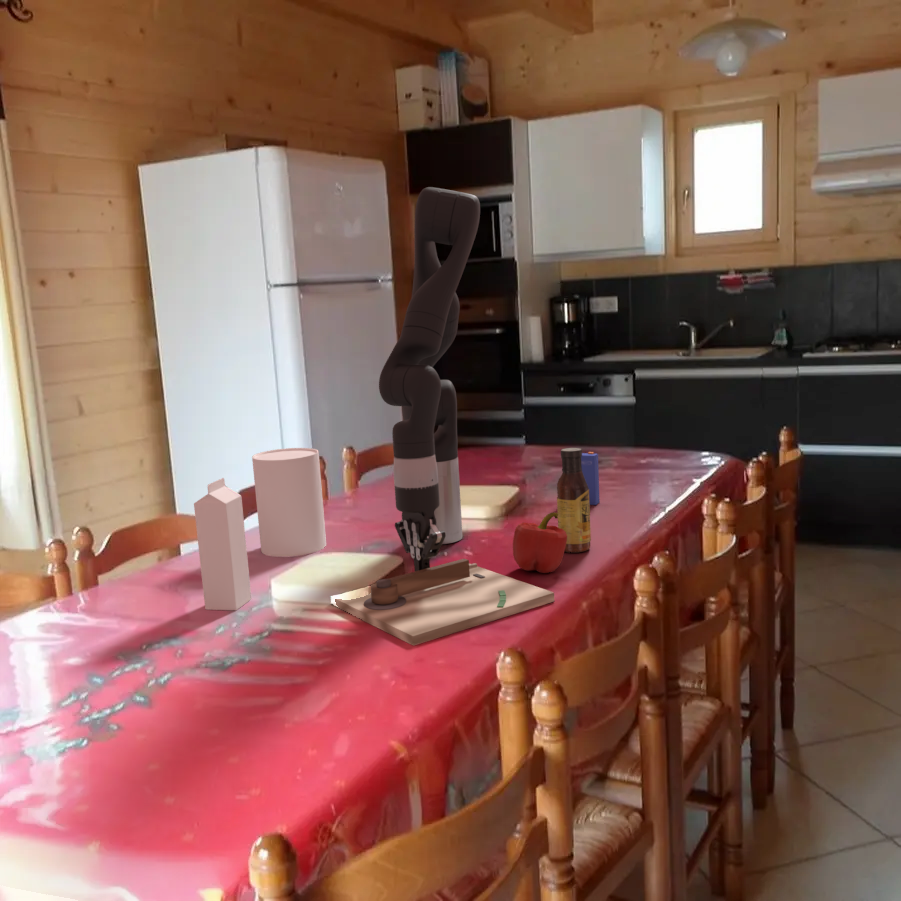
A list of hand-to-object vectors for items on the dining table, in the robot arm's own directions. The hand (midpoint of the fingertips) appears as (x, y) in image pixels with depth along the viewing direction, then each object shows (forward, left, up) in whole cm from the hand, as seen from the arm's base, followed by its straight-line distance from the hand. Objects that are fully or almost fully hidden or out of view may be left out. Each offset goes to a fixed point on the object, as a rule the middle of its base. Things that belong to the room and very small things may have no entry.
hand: (422, 578), depth 169 cm
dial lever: (+3, -1, -1) cm, 4 cm away
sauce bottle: (-1, +36, -3) cm, 36 cm away
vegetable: (+4, +23, -3) cm, 24 cm away
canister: (-45, -3, -3) cm, 45 cm away
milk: (-20, -28, -3) cm, 34 cm away
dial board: (+6, -1, -3) cm, 7 cm away
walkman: (-28, +63, -3) cm, 69 cm away
